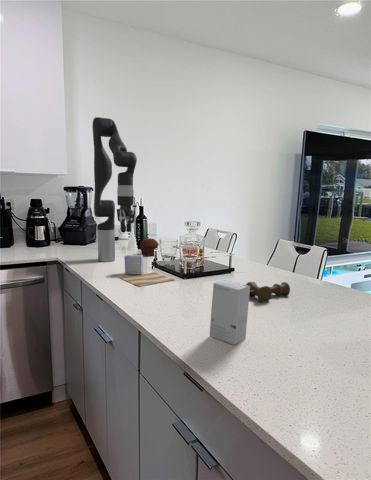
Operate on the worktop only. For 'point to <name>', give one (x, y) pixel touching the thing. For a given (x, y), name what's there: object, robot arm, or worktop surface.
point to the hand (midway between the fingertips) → (125, 231)
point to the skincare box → (229, 311)
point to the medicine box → (134, 264)
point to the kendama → (268, 290)
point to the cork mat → (147, 279)
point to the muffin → (148, 247)
